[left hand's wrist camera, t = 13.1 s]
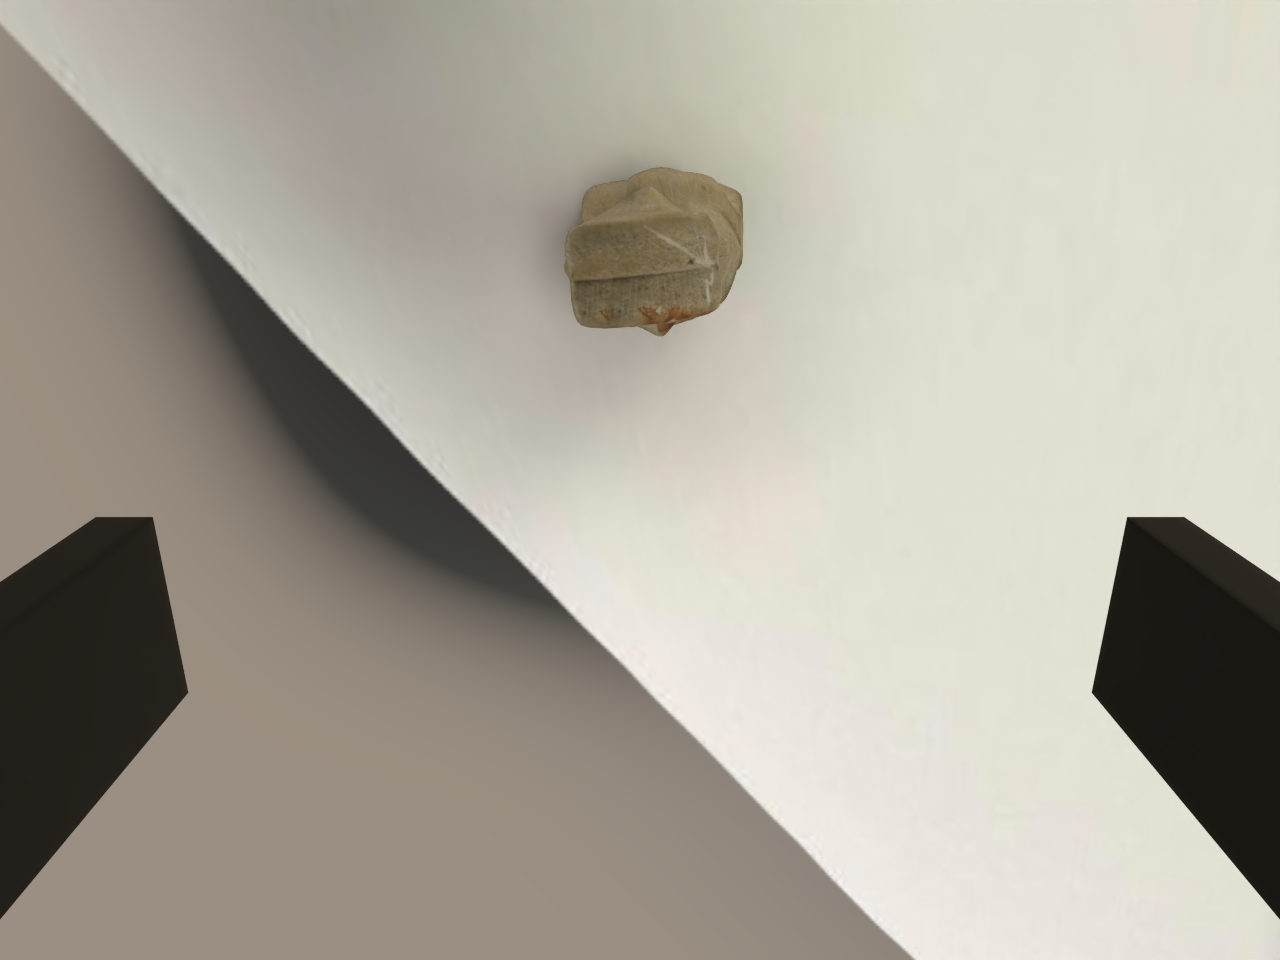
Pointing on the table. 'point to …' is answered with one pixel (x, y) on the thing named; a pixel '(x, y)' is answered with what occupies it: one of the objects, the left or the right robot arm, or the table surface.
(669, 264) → the sculpture
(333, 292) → the table surface
